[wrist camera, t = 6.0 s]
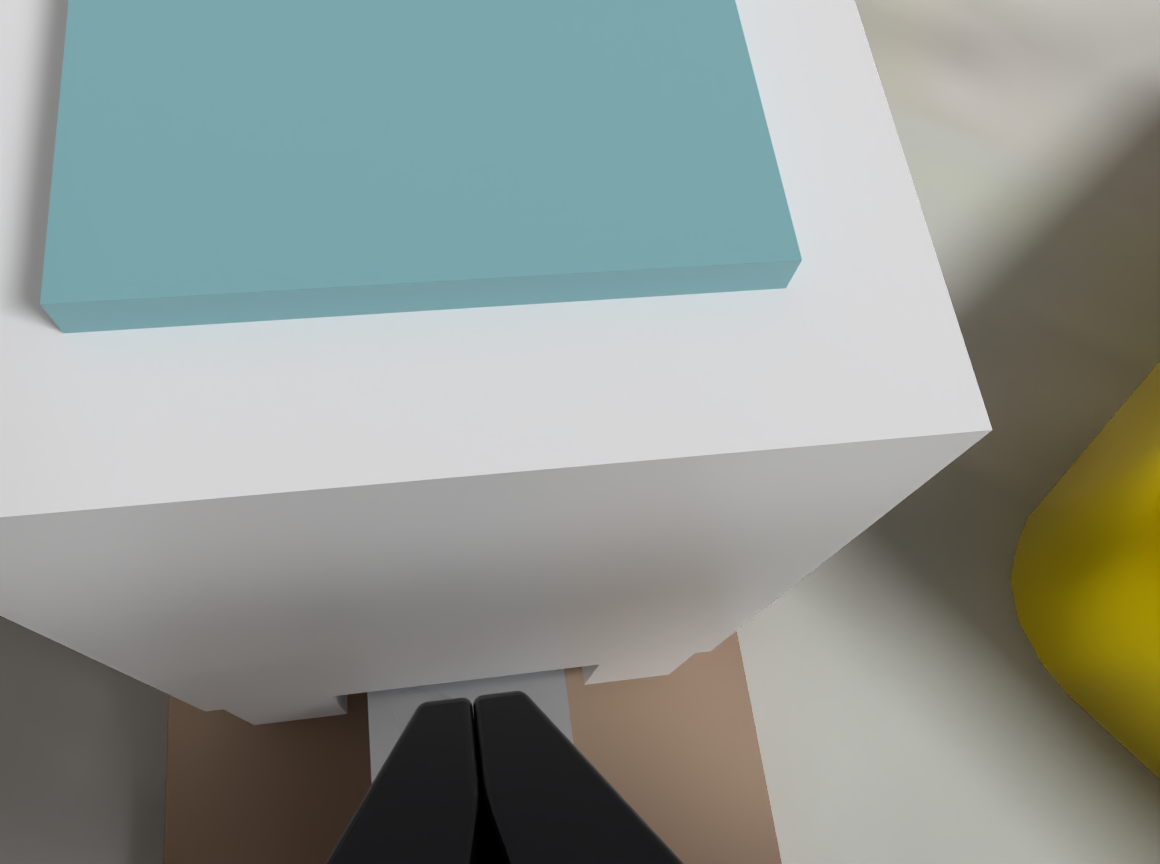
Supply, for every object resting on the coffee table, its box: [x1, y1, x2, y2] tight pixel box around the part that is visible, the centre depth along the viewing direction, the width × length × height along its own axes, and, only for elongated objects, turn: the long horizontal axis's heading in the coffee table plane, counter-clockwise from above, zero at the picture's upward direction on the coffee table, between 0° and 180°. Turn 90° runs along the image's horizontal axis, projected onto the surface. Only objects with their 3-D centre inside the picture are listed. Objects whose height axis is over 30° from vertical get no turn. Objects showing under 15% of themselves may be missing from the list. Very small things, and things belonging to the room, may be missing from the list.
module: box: [0, 0, 992, 725], centre depth 10 cm, size 5×6×9 cm
